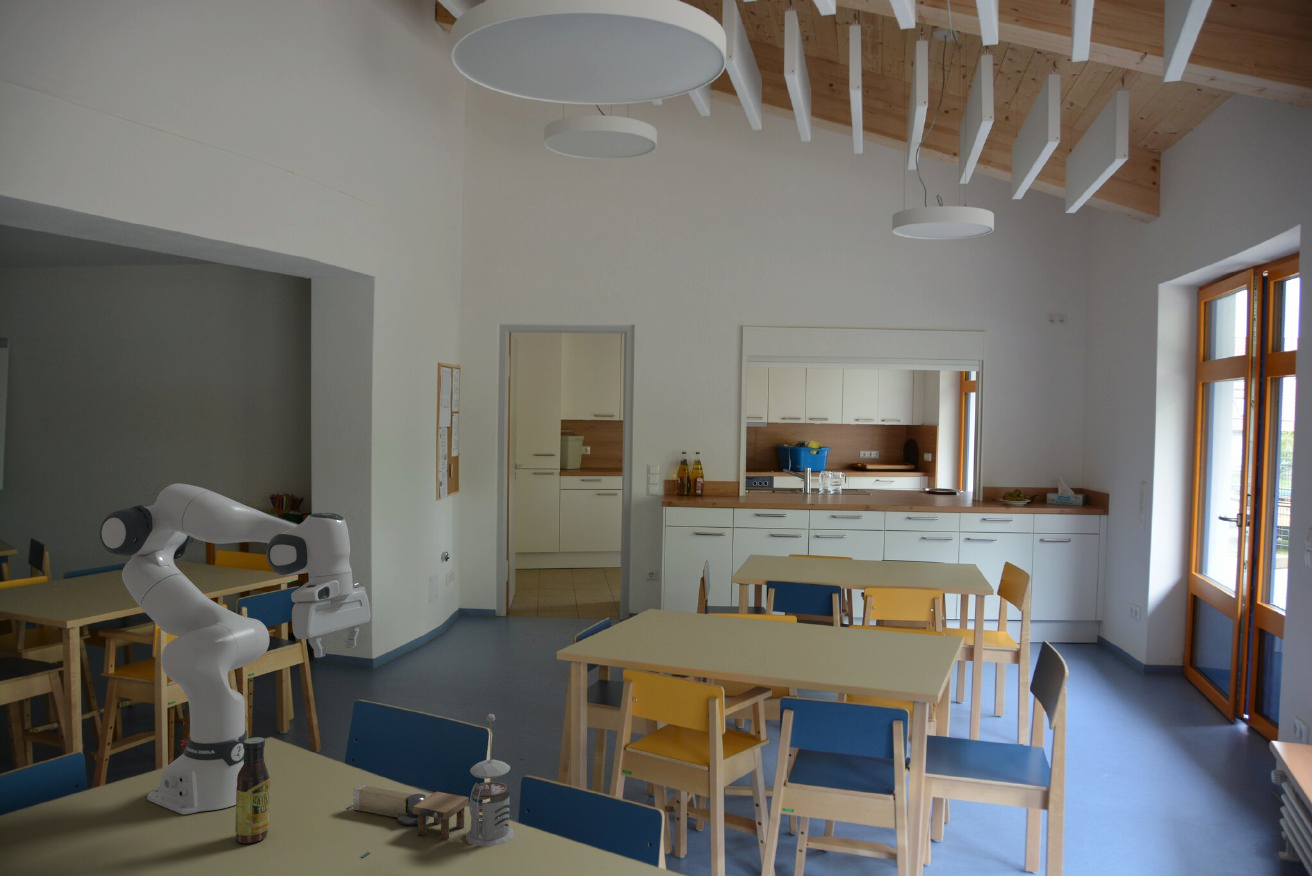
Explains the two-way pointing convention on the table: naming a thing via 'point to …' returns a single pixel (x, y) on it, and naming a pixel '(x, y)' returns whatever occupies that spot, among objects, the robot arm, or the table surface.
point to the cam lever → (387, 803)
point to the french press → (489, 803)
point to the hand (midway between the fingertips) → (335, 652)
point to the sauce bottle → (252, 794)
